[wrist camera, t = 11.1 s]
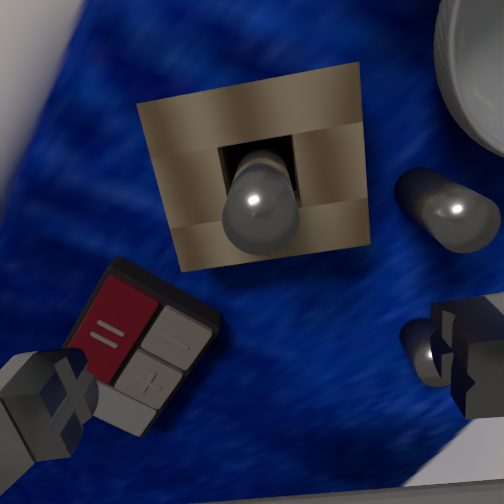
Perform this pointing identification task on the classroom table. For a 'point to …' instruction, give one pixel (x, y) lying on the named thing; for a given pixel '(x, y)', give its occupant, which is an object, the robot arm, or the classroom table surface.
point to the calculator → (140, 343)
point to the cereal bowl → (472, 67)
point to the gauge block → (252, 129)
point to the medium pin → (448, 210)
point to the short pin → (421, 350)
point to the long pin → (261, 203)
